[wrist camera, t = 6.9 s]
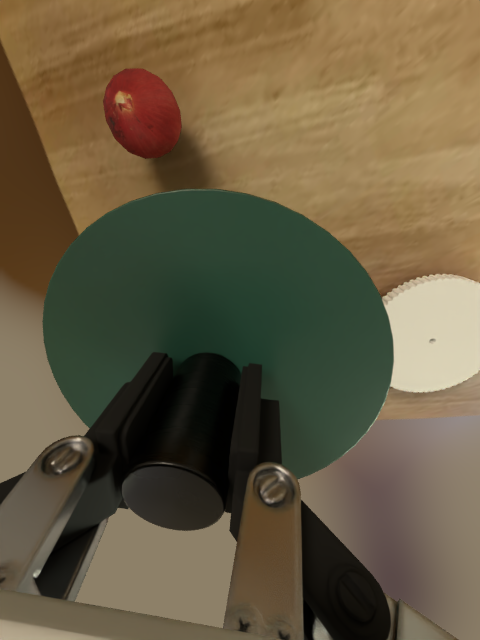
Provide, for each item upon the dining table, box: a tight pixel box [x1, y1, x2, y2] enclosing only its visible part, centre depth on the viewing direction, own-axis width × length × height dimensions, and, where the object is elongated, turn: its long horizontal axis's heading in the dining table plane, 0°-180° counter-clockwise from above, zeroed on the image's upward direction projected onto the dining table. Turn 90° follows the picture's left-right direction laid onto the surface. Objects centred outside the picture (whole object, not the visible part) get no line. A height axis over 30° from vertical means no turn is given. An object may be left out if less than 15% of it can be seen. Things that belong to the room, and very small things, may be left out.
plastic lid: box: [382, 274, 480, 393], centre depth 30 cm, size 14×14×2 cm
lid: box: [43, 189, 394, 531], centre depth 10 cm, size 15×15×6 cm
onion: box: [103, 69, 181, 159], centre depth 22 cm, size 6×6×8 cm
